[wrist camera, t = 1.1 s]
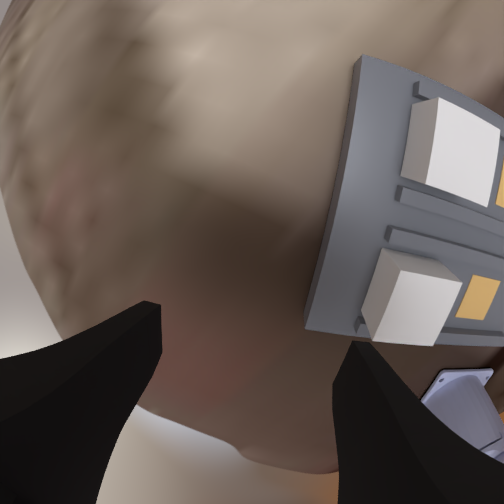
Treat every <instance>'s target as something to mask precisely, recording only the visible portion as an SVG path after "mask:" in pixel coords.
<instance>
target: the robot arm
mask: <svg viewBox="0 0 504 504" xmlns="http://www.w3.org/2000/svg"><path fill="white" fill-rule="evenodd" d="M161 354H162V330H161V305H160V304H156V303H152V302H148V301H142V302H140V303H138V304H136V305H134V306H132V307H130V308H128V309H126V310H124V311H122V312H121V313H119V314H117V315H115V316H113V317H111V318H109V319H107V320H105V321H103V322H102V323H100V324H98V325H96V326H94V327H92V328H90V329H87V330H85V331H83V332H81V333H79V334H77V335H74V336H72V337H70V338H68V339H66V340H63V341H61V342H58V343H56V344H53V345H50V346H47V347H44V348H41V349H38V350H35V351H32V352H28V353H24V354H20V355H16V356H11V357H7V358H2V359H0V504H96V501H97V497H98V493H99V490H100V487H101V483H102V480H103V477H104V473H105V471H106V468H107V465H108V462H109V459H110V456H111V454H112V451H113V449H114V447H115V444H116V441H117V439H118V437H119V434H120V432H121V430H122V428H123V426H124V424H125V423H126V421H127V419H128V417H129V416H130V414H131V412H132V410H133V409H134V407H135V405H136V404H137V402H138V400H139V398H140V397H141V395H142V393H143V392H144V390H145V388H146V386H147V385H148V383H149V381H150V379H151V378H152V376H153V374H154V371H155V369H156V366H157V364H158V362H159V359H160V357H161ZM492 374H493V369H492V368H488V369H464V370H443V371H441V372H440V373H439V375H438V376H437V378H436V379H435V381H434V382H433V384H432V385H431V387H430V388H429V389H428V391H427V392H426V394H425V395H424V396H423V398H422V399H421V401H420V400H419V399H418V398H417V397H416V395H415V394H414V393H413V392H412V391H411V390H410V389H409V388H408V387H407V385H406V384H405V383H404V382H403V381H402V380H401V378H400V377H399V376H398V375H397V374H396V373H395V371H394V370H393V369H392V368H391V367H390V365H389V364H388V363H387V362H386V361H385V359H384V358H383V357H382V356H381V355H380V354H379V352H378V351H377V350H376V349H375V348H374V347H373V346H372V345H371V344H370V343H369V342H360V341H352V343H351V345H350V347H349V350H348V352H347V354H346V356H345V359H344V361H343V363H342V365H341V367H340V369H339V372H338V374H337V376H336V378H335V380H334V382H333V393H332V410H333V419H334V428H335V436H336V445H337V454H338V464H339V490H338V504H504V424H503V422H502V420H501V418H500V416H499V414H498V412H497V410H496V408H495V406H494V404H493V403H492V401H491V399H490V397H489V395H488V393H487V392H486V390H485V388H484V385H485V384H486V382H487V381H488V380H489V378H490V377H491V375H492Z"/></svg>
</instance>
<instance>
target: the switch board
mask: <svg viewBox="0 0 504 504" xmlns="http://www.w3.org/2000/svg"><path fill="white" fill-rule="evenodd" d="M438 97H439V98H442V99H444V100H446V101H448V102H450V103H452V104H454V105H456V106H458V107H460V108H462V109H464V110H466V111H468V112H470V113H472V114H474V115H476V116H477V117H479V118H481V119H483V120H485V121H486V122H488V123H490V124H491V125H493V126H495V127H496V128H498V129H500V139H499V147H498V155H497V161H496V168H495V173H494V179H493V184H492V189H491V193H490V198H489V202H488V206H487V207H485V206H483V205H480V204H478V203H475V202H473V201H470V200H468V199H465V198H463V197H460V196H457V195H455V194H452V193H449V192H447V191H444V190H441V189H438V188H435V187H432V186H429V185H426V184H423V183H420V182H417V181H414V180H411V179H408V178H405V177H402V176H400V175H401V170H402V165H403V160H404V155H405V149H406V143H407V137H408V131H409V124H410V117H411V109H412V104H415V103H419V102H422V101H426V100H430V99H434V98H438ZM382 248H386V249H391V250H395V251H400V252H404V253H409V254H413V255H418V256H422V257H426V258H431V259H435V260H439V261H440V262H441V263H442V264H443V265H444V266H445V267H446V268H448V269H449V270H450V271H451V272H452V273H453V274H454V275H455V276H456V277H457V278H458V279H459V280H460V281H461V282H462V285H461V288H460V290H459V293H458V295H457V297H456V300H455V302H454V304H453V306H452V308H451V311H450V313H449V315H448V317H447V319H446V321H445V323H444V325H443V327H442V329H441V331H440V333H439V335H438V337H437V339H436V341H435V342H434V344H445V345H465V346H504V118H503V117H501V116H499V115H498V114H496V113H495V112H493V111H492V110H490V109H488V108H487V107H485V106H483V105H481V104H480V103H478V102H476V101H474V100H473V99H471V98H469V97H467V96H465V95H463V94H462V93H460V92H458V91H456V90H454V89H452V88H450V87H448V86H445V85H443V84H441V83H439V82H437V81H435V80H432V79H430V78H428V77H426V76H423V75H421V74H418V73H416V72H413V71H411V70H408V69H406V68H403V67H400V66H398V65H395V64H392V63H389V62H386V61H383V60H380V59H377V58H374V57H370V56H367V55H364V54H362V55H361V57H360V58H359V59H358V60H357V61H356V62H355V64H354V70H353V78H352V86H351V93H350V100H349V107H348V113H347V120H346V126H345V132H344V138H343V143H342V149H341V154H340V160H339V165H338V170H337V175H336V180H335V185H334V190H333V195H332V200H331V204H330V209H329V213H328V218H327V222H326V227H325V231H324V235H323V239H322V244H321V248H320V252H319V256H318V260H317V264H316V268H315V271H314V275H313V279H312V283H311V287H310V290H309V294H308V298H307V301H306V305H305V308H304V327H305V329H307V330H313V331H320V332H327V333H334V334H341V335H349V336H357V337H365V338H371V336H370V333H369V330H368V328H367V325H366V322H365V320H364V317H363V314H362V312H361V309H362V306H363V303H364V300H365V298H366V295H367V292H368V289H369V286H370V283H371V281H372V278H373V275H374V272H375V269H376V265H377V262H378V259H379V256H380V253H381V249H382Z"/></svg>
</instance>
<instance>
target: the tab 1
mask: <svg viewBox="0 0 504 504" xmlns="http://www.w3.org/2000/svg"><path fill="white" fill-rule="evenodd" d="M499 139H500V129H498V128H496V127H495V126H493V125H491V124H490V123H488V122H486V121H485V120H483V119H481V118H479V117H477V116H476V115H474V114H472V113H470V112H468V111H466V110H464V109H462V108H460V107H458V106H456V105H454V104H452V103H450V102H448V101H446V100H444V99H442V98H439V97H438V98H434V99H430V100H426V101H422V102H419V103H415V104H412V109H411V117H410V124H409V131H408V137H407V143H406V149H405V155H404V160H403V165H402V170H401V175H400V176H402V177H405V178H408V179H411V180H414V181H417V182H420V183H423V184H426V185H429V186H432V187H435V188H438V189H441V190H444V191H447V192H449V193H452V194H455V195H457V196H460V197H463V198H465V199H468V200H470V201H473V202H475V203H478V204H480V205H483V206H485V207H487V206H488V202H489V198H490V193H491V189H492V184H493V179H494V173H495V168H496V161H497V155H498V147H499Z"/></svg>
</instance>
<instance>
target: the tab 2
mask: <svg viewBox="0 0 504 504" xmlns="http://www.w3.org/2000/svg"><path fill="white" fill-rule="evenodd" d="M461 285H462V282H461V281H460V280H459V279H458V278H457V277H456V276H455V275H454V274H453V273H452V272H451V271H450V270H449V269H448V268H446V267H445V266H444V265H443V264H442V263H441V262H440V261H439V260H435V259H431V258H426V257H422V256H418V255H413V254H409V253H404V252H400V251H395V250H391V249H386V248H382V249H381V253H380V256H379V259H378V262H377V265H376V269H375V272H374V275H373V278H372V281H371V283H370V286H369V289H368V292H367V295H366V298H365V300H364V303H363V306H362V309H361V312H362V314H363V317H364V320H365V322H366V325H367V328H368V330H369V333H370V336H371V339H372V341H378V342H388V343H398V344H410V345H423V346H433V344H434V342H435V341H436V339H437V337H438V335H439V333H440V331H441V329H442V327H443V325H444V323H445V321H446V319H447V317H448V315H449V313H450V311H451V308H452V306H453V304H454V302H455V300H456V297H457V295H458V293H459V290H460V288H461Z"/></svg>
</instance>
